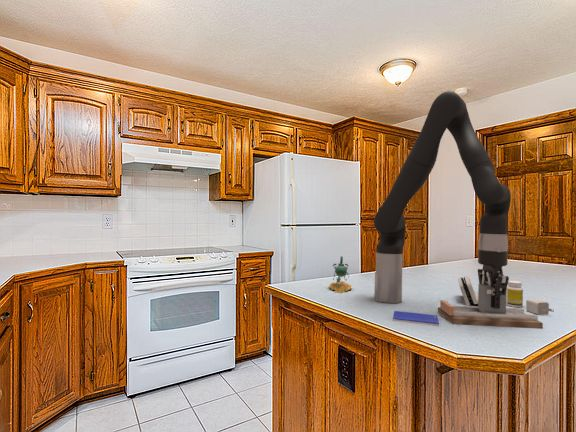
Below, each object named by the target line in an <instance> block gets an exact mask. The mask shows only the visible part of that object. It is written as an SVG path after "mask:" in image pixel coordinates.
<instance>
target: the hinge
mask: <svg viewBox="0 0 576 432" xmlns="http://www.w3.org/2000/svg"><path fill="white" fill-rule="evenodd" d="M457 282H458V286H459V289H460V292H461V294H462V297H463V299H464V303H465V306H471V305H472V304H474V305H478V292H477V291H475V289H474V287H473V284H472V281H471V279H470V277H469V275H465V276H464V277H458V278H457Z"/></svg>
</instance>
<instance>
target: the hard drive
mask: <svg viewBox="0 0 576 432" xmlns="http://www.w3.org/2000/svg"><path fill="white" fill-rule="evenodd" d="M392 321H393V322H399V323H400V322H401V323H408V324H417V325H427V326H433V327H440V320H439V316H438V314H437V315H436V314H430V313H429V314H428V313H419V312H410V311H399V310H394V311H393V316H392Z"/></svg>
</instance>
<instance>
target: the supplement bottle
mask: <svg viewBox="0 0 576 432" xmlns="http://www.w3.org/2000/svg"><path fill="white" fill-rule="evenodd" d="M522 286H523V284H522V282H521V281H519V280H509V281H508V285H507V289H506V306H508V307H510V308H523V302H524V300H523V299H524V297H523V296H524V289H523V287H522Z"/></svg>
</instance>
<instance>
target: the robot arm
mask: <svg viewBox="0 0 576 432" xmlns="http://www.w3.org/2000/svg"><path fill="white" fill-rule="evenodd" d="M470 118H471V117H470V114H469V111H468V107H467V104H466V102H465V101H464V99H462V97H461V96H460V95H459V94H458V93H457V92H454V91H452V90H449V91H448V90H447V91H444V92H442V93H440V94H439V95H438V96H436V98H435V99H434V100H433V102H432V103H431V106H430V109H429V111H428V114H427V115H426V119H425V121H424V124H423V125H422V128H421V130H420V132H419V134H418V136H417V137H416V139H415V141H414V143H413V145H412V148H411V150H410V152H409V153H408V155H407V157H406V158H405V161H404V163H403V164H402V167H401V169H400V171H399V173H398V175H397V177H396V179H395V182H394V183H393V185H392V187H391V189H390V191H389V193H388V195H387V197H386V199H385V200H384V201H383V203H382V204H381V206H380V207H379V209H378V210H377V212H376V214H375V216H374V219H373V225H374V228H375V230H376V232H378V233H379V240H378V243H377V244H376V247H375V249H376V250H375V251H376V253H375V254H376V255H375V272H374V299H375V300H376V302H380V303H386V304H398V303H402V302H403V259H404V257H403V253H404V252H403V251H404V247H405V242H406V241H405V240H406V218H405V216H404V211H405V209H406V207H407V206H408V204H409V202H410V201H411V199H412V198H413V197H414V196H415V195H416V194H417V192H419V190H420V189H421V188H422V187H423V186H424V184H425V183H426V182H427V180H428V178H429V176H430V174H431V172H432V170H433V169H434V166H435V165H436V161H437V157H438V154H439V147H440V143H441V141H442V138H443V135H444V133H445V131H446V130H448V131H449V133H450V134H451V135H452V137H453V139H454V141H455V143H456V146H457V150H458V153H459V156H460V159H461V161H462V164H463V166H464V168H465V169H466V171H467V173H468V175H469V176H470V180H471V184H472V187H473V190H474V191H473V192H474V193H475V196H476V197H477V199H478V200H479V201H480V203H482V204H483V205H484V210H483V211H484V212H483V215H481V217H480V218H479V235H478V245H477V246H478V247H477V249H478V250H477V253H478V254H477V263H478V264H479V265H481V266H482V268H478V269H477V275H478V277H477V278H478V285H479V284H489V286H490V287H491V307H492V308H494V309H499V308H500V296H502V295H505V294H506V293H507V287H508V286H509V285H508V281H510V280H509V278H510V277H509V275H504V272H503V267H507V265H508V257H509V256H508V254H509V253H508V249H509V241H508V216H509V211H510V207H511V199H512V197H511V196H512V195H511V191H510V188H509V187H508V186H507V185H505V184H504V183H501V182H499V180H498V178H497V175H496V174H495V170H496V168H495V165H494V163H493V160H492V159H491V158H490V156H489V153H488V152H487V150H486V149H485V147H484V145H483V143H482V142H481V140H480V139H479V137H478V135H477V133H476V131H475V128H474V127H473V124H472V121H471V119H470ZM494 284H496V285H494ZM494 288H495V289H494ZM501 288H502V289H501Z"/></svg>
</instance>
